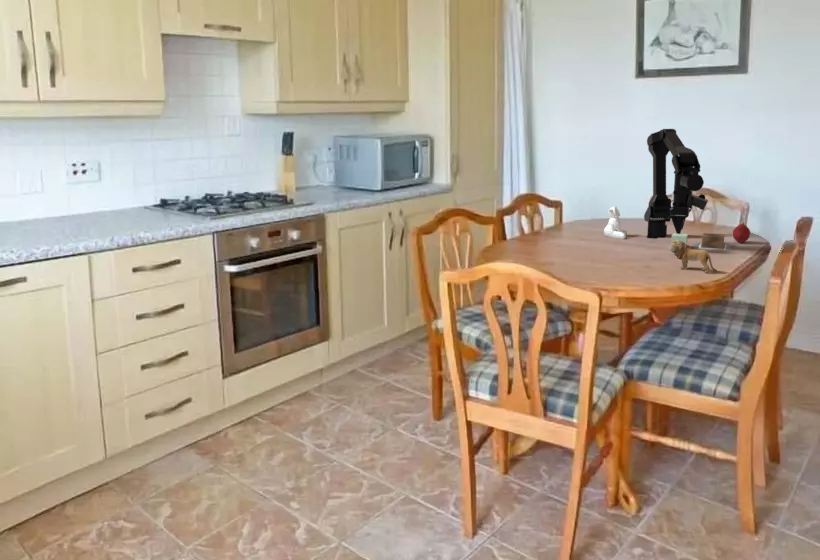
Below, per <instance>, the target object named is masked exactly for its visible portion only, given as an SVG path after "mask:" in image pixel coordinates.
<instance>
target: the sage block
mask: <svg viewBox="0 0 820 560" xmlns="http://www.w3.org/2000/svg"><path fill="white" fill-rule="evenodd" d="M675 240H680V241H682V242H685V244H687V245H688V233H680V234H677V233H676V232H674V233H672V234H671V239H670V247H671V246H672V242H673V241H675Z"/></svg>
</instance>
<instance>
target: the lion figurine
mask: <svg viewBox="0 0 820 560" xmlns="http://www.w3.org/2000/svg"><path fill="white" fill-rule="evenodd" d="M670 251H671V253H672V254H673V255H674V256H676V259H678V260H681V265H682V266H681V267H680V268H679V269H680V270H686V268H687V267H688V264H689V263H688V262H689V261H691V262H697V261H699V262H700V263H701V265H702V266H703V267H702V268H701V271H704V273H705V274H709V273H710V268H711V270H712V271H713V272H718V270H717V269H716V268H715V267H714V266H713V264H712V259H711V255H710V253H709V252H708V251H707V250H706V249H694V248H692V246H691V245H689V244H688V243H687V244H685V242H682V241H680V240H675V241H673V242H672V246H671V245H670ZM708 263H709V264H708Z"/></svg>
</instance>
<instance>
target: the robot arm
mask: <svg viewBox="0 0 820 560" xmlns="http://www.w3.org/2000/svg"><path fill="white" fill-rule="evenodd" d="M646 144H647V148H648V152H649V153H650V155H651V157H652V180H653V181H652V197H651V198H650V199H649V201H648V207H647V209H646V210H645V213H644V214H643V215H644V216H643V219H644V220H643V221H645V222H647V235H646V238H649V239H650V238H651V239H658V238H659V239H661V238H662V239H664V238H665V237H667V235H668V234H667V233H668V224H667V223H668V222H669V223H670V222H672V225H673V227H674V230H675V233H676V234H682V233H681V232H682V230H683V229H684V225H685V222H686V219H687V218H688V217H689V216H690V213H691V212H692V209H693V207H694V208H695V207H696V208H698V209H699V210H701V211H704V210H705V208H706V206H707V205H708V202H709V199H706V194H702V193H700V194H699V195H695V194H693V192H698V191H700V190H701V189H702V187H703V186H704V179H703V177H702V176H701V174H699V173H700V172H701V164H700V161H699V159H698V155H697V153H696V152H695V151H694V150H693V149H691V148H689V147H686V146H685V145H684V143H683V142H682V140H681V139H680V137H679V136H678V134H677V130H676V128H675V129H674V128H663V129H660V130H659V131H655V132H652V133H650V134H649V136H648V137H647V139H646ZM669 152H670V153H671V155H672V157H671V165H672V166H673V168H674V169H673V170H674V171H673V174H674V183H673V185H674V186H673V192H672V195H673V198H672V199H673V200H671V198H669V197H668V195H667V156H668V154H669Z"/></svg>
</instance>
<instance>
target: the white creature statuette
mask: <svg viewBox="0 0 820 560" xmlns="http://www.w3.org/2000/svg"><path fill="white" fill-rule="evenodd" d="M607 211H608V215H609V217H610V218H609V219H608V223H607V225H606V226H605V227H604V229H603V234H604V236H606V237H607V238H612V239H618V240H619V239H620V240H623V239H624V240H625V239H626V237H627V234H628V231H627V230H626V229H624V228H621V222H620V216H621V214H620V210H619V209H618V207H617V206H616V205H615V206H611V207H610V208H609V209H608V210H607Z"/></svg>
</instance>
